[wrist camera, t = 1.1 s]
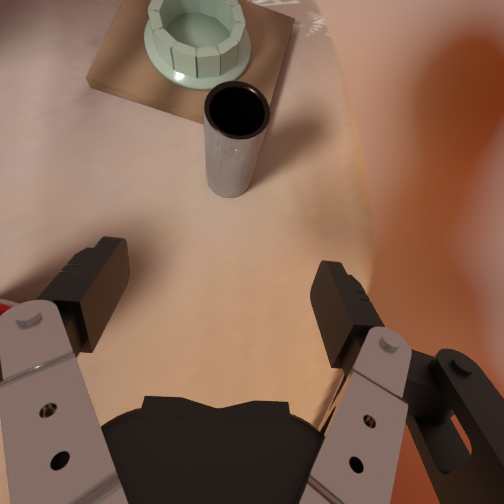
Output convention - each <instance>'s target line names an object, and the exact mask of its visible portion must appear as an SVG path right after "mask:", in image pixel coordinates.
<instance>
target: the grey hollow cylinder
mask: <svg viewBox="0 0 504 504" xmlns="http://www.w3.org/2000/svg"><path fill="white" fill-rule="evenodd" d="M269 120H270V107H269V104H268V101H267V99H266V98H265V96H264V95H263V94H262V93H261V92H260V91H259V90H258V89H257V88H256V87H254V86H252V85H250V84H248V83H245V82H242V81H226V82H223V83H220V84H218V85H216V86H215V87H214V88H212V89H211V90H210V92H209V93H208V94H207V96H206V98H205V101H204V131H205V156H206V177H207V182H208V185H209V187H210V188H211V189H212V191H213V192H215V193H216V194H217V195H219V196H222V197H226V198H234V197H237V196H240V195H241V194H243V193H244V192H245V191H246V190H247V188H248V186H249V184H250V182H251V179H252V175H253V172H254V169H255V166H256V162H257V159H258V156H259V153H260V150H261V146H262V143H263V140H264V137H265V134H266V130H267V127H268V124H269Z"/></svg>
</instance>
